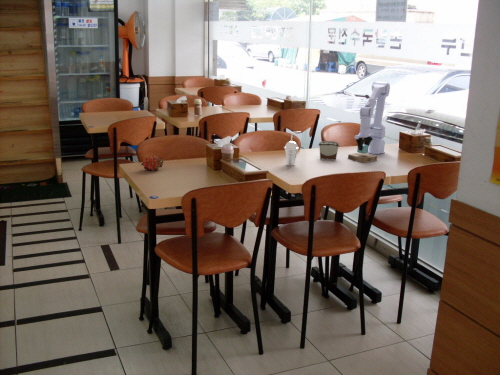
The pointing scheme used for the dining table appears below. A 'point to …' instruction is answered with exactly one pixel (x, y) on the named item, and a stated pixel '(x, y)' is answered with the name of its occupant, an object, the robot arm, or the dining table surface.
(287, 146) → the cup with straw
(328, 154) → the food container
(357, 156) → the walnut block
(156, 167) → the dragon fruit
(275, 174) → the dining table surface
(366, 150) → the teal cube
